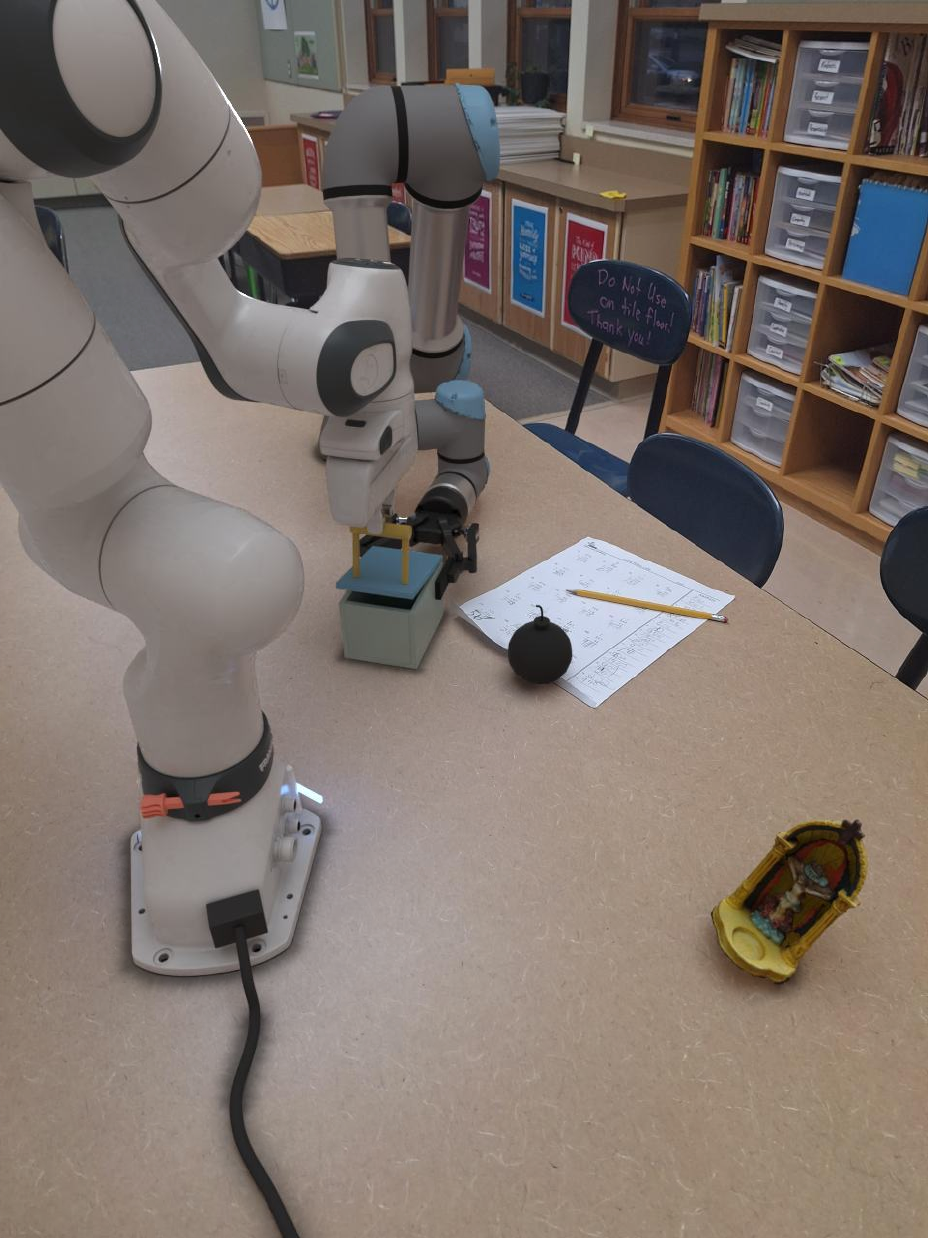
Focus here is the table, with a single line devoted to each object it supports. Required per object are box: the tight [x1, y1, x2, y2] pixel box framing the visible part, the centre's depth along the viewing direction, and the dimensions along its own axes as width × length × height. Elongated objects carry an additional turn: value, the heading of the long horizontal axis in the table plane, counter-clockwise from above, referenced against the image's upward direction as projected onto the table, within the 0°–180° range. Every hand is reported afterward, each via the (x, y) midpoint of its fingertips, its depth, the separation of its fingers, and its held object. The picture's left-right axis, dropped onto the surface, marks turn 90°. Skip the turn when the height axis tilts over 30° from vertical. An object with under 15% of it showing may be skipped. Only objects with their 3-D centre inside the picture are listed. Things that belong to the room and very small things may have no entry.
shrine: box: [710, 818, 868, 986], centre depth 72 cm, size 12×8×15 cm
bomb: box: [507, 604, 573, 686], centre depth 104 cm, size 8×8×12 cm
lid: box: [335, 523, 443, 599], centre depth 107 cm, size 13×10×8 cm
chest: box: [338, 561, 445, 670], centre depth 113 cm, size 13×10×9 cm
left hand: (381, 524), depth 102 cm, fingers closed
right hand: (399, 585), depth 114 cm, fingers closed on chest, 10 cm apart
